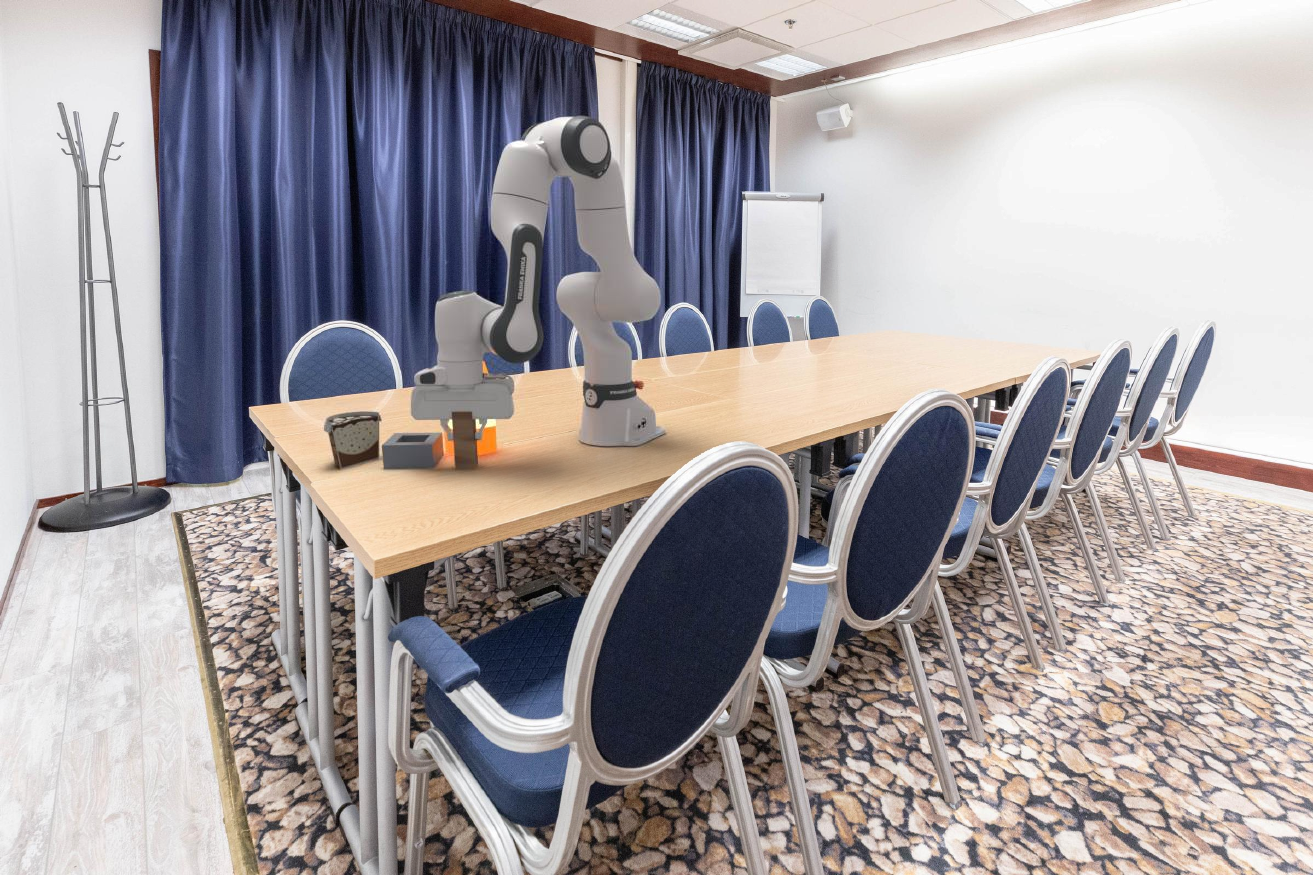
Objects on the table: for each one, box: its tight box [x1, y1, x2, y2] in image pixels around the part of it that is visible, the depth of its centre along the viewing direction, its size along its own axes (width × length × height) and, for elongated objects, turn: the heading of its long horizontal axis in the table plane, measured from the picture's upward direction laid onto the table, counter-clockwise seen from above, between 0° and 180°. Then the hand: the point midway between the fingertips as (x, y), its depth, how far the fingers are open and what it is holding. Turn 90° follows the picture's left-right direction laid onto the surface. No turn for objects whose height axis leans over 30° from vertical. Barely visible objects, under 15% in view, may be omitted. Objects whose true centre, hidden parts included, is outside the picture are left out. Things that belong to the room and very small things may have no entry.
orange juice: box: [443, 360, 498, 456], centre depth 152 cm, size 8×9×20 cm
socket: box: [381, 432, 445, 470], centre depth 146 cm, size 10×10×5 cm
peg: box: [452, 412, 479, 470], centre depth 142 cm, size 4×4×12 cm
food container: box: [323, 410, 383, 470], centre depth 145 cm, size 12×6×10 cm, turn 149°
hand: (465, 439), depth 142 cm, fingers closed on peg, 4 cm apart
